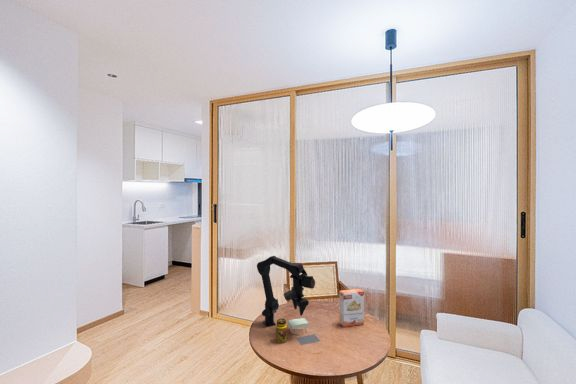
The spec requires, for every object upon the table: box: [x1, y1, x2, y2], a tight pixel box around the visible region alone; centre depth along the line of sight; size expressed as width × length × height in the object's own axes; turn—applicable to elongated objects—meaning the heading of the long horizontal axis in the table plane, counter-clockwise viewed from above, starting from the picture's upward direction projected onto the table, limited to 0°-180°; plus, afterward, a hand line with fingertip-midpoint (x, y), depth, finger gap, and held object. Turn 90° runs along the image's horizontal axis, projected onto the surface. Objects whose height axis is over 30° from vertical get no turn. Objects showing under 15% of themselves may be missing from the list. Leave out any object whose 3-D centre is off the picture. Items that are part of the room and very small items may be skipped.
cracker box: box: [339, 288, 365, 328], centre depth 177 cm, size 14×6×21 cm, turn 105°
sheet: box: [287, 317, 310, 329], centre depth 168 cm, size 7×10×2 cm
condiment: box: [275, 318, 288, 344], centre depth 158 cm, size 7×8×12 cm
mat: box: [295, 334, 321, 346], centre depth 158 cm, size 8×12×1 cm
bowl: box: [289, 326, 307, 336], centre depth 168 cm, size 9×9×4 cm
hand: (298, 312), depth 168 cm, fingers open, 9 cm apart
